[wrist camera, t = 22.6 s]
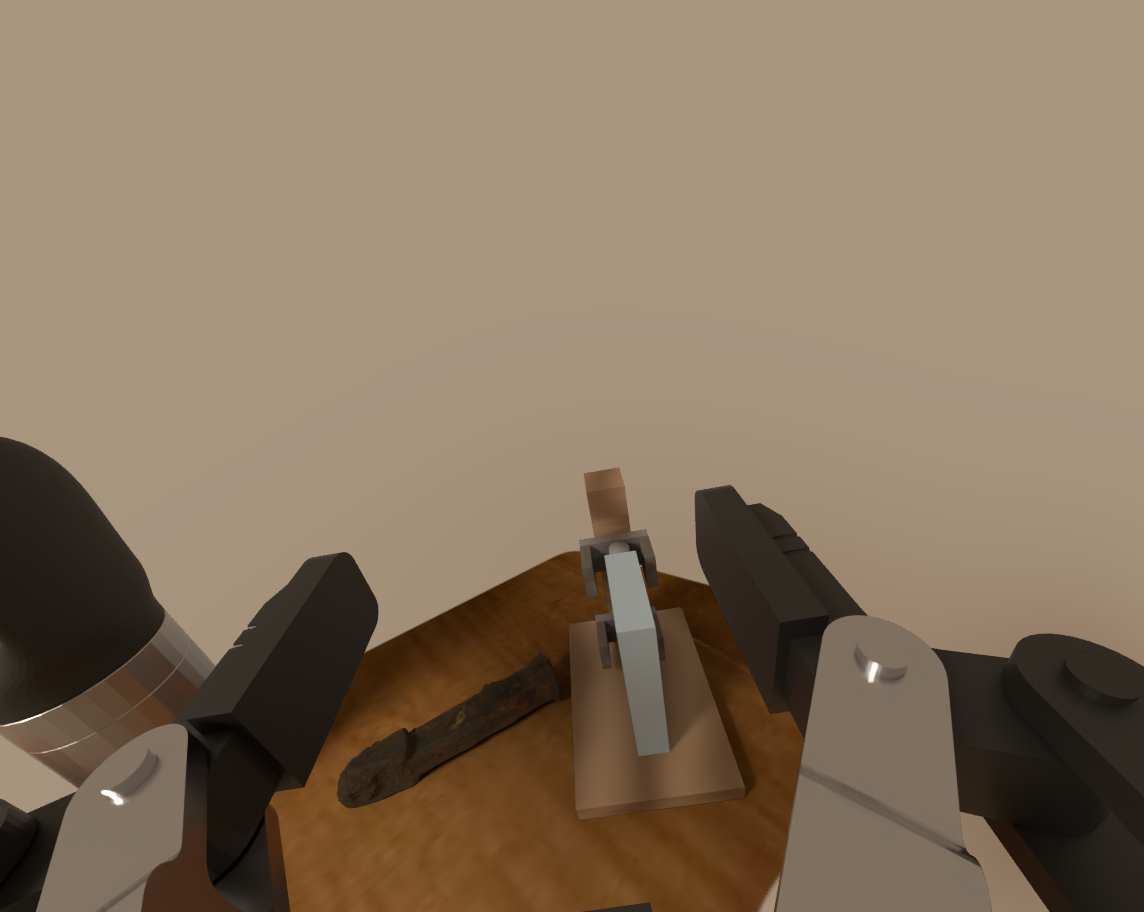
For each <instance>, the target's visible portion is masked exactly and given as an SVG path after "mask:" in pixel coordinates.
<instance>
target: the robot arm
mask: <svg viewBox="0 0 1144 912" xmlns="http://www.w3.org/2000/svg"><path fill="white" fill-rule="evenodd" d="M695 522H696V546H697V553H698V557H699V561H700V564H701V567H702V570H703V572H704V574H705V576H706V579H707V581H708V583H709V585H710V587H711V589H712V591H713V593H714V596H715V598H716V600H717V602H718V604H719V606H720V608H721V610H722V613H723V615H724V617H725V619H726V621H727V623H728V625H729V627H730V630H731V632H732V634H733V636H734V638H735V640H736V642H737V644H738V647H739V649H740V651H741V653H742V655H743V657H744V659H745V662H746V664H747V666H748V668H749V670H750V672H751V674H752V676H753V679H754V681H755V683H756V685H757V687H758V689H759V691H760V693H761V696H762V698H763V700H764V702H765V704H766V706H767V708H768V710H769V713H770V714H774V713H780V712H787V711H790V712H791V714H792V716H793V718H794V720H795V722H796V724H797V726H798V728H799V730H800V732H801V733H802V735H803V737H804V742H803V747H802V753H801V759H800V765H799V770H798V776H797V782H796V788H795V794H794V799H793V805H792V811H791V817H790V823H789V828H788V834H787V840H786V846H785V851H784V857H783V863H782V869H781V874H780V880H779V886H778V891H777V898H776V903H775V909H774V912H992V909H991V902H990V896H989V891H988V887H987V883H986V879H985V876H984V873H983V870H982V868H981V866H980V864H979V862H978V860H977V859H976V858H975V857H974V856H972V855H970V854H969V853H968V852H967V850H966V848H965V845H964V841H963V837H962V831H961V821H960V812H964V813H969V814H973V815H977V816H982V817H984V819H985V820H986V822H987V823H988V825H989V826H990V827H991V829H992V830H993V832H994V833H995V835H996V836H997V837H998V839H999V840H1000V842H1001V843H1002V844H1003V846H1004V847H1005V849H1006V850H1007V852H1008V853H1009V854H1010V856H1011V857H1012V859H1013V860H1014V862H1015V863H1016V865H1017V866H1018V867H1019V869H1020V870H1021V872H1022V873H1023V874H1024V876H1025V877H1026V879H1027V880H1028V882H1029V883H1030V884H1031V886H1032V887H1033V889H1034V890H1035V892H1036V893H1037V894H1038V896H1039V897H1040V899H1041V900H1042V902H1043V903H1044V904H1045V906H1046V907H1047V909H1048V910H1049V912H1144V667H1143V666H1142V665H1140V664H1138V663H1137V662H1135V661H1133V660H1132V659H1129V658H1128V657H1125V656H1123V655H1122V654H1120V653H1118V652H1115V651H1113V650H1111V649H1108V648H1106V647H1104V646H1101V645H1098V644H1095V643H1092V642H1090V641H1086V640H1083V639H1079V638H1075V637H1071V636H1065V635H1059V634H1036V635H1030V636H1028V637H1025V638H1023V639H1022V640H1020V641H1019V642H1018V643H1017V645H1016V647H1015V649H1014V650H1013V652H1012V654H1011V656H1010V658H1003V657H995V656H987V655H978V654H971V653H963V652H954V651H947V650H939V649H934V648H930V647H929V646H928V645H927V644H926V643H924V641H923V640H921V639H920V638H919V637H917V636H916V635H914V634H913V633H911V632H910V631H908V630H906V629H905V628H903V627H901V626H898V625H896V624H894V623H892V622H889V621H886V620H883V619H880V618H875V617H870V616H867V614H866V613H865V612H864V611H863V610H862V609H861V608H860V607H859V606H858V604H857V603H856V602H855V601H854V600H853V599H852V598H851V596H850V595H849V594H848V593H847V592H846V590H845V589H844V588H843V587H842V586H841V585H840V584H839V582H838V581H837V580H836V579H835V577H834V576H833V575H832V574H831V573H830V572H829V571H828V569H827V568H826V567H825V566H824V565H823V563H822V562H821V561H820V560H819V559H818V558H817V556H816V555H815V554H814V553H813V552H810V550H809V547H808V546H807V545H806V544H805V542H804V541H803V540H802V539H801V538H800V537H798V536H797V533H796V532H795V531H794V529H793V528H792V527H791V526H790V525H789V524H788V522H787V521H786V520H785V519H784V518H783V517H782V516H781V515H779V514H778V513H776V512H774V511H773V510H771V509H769V508H768V507H766V506H764V505H762V504H761V503H759V504H753V505H746V503H745V502H744V500H743V499H742V498H741V497H740V495H739V494H738V493H737V491H736V490H735V489H734V487H732V486H731V485H727V486H722V487H715V488H710V489H704V490H699V491H696V493H695ZM377 621H378V604H377V600H376V598H375V596H374V594H373V592H372V591H371V589H370V587H369V585H368V583H367V582H366V580H365V578H364V576H363V574H362V573H361V571H360V569H359V567H358V565H357V564H356V562H355V560H354V559H353V557H352V556H351V555H350V554H348V553H346V552H342V553H336V554H331V555H324V556H318V557H312V558H310V559H308V560H306V561H305V562H304V564H303V565H302V566H301V568H300V569H299V570H298V572H297V573H296V574H295V576H294V577H293V578H292V580H291V581H290V582H289V583H288V585H286V586H285V587H284V588H283V589H282V590H281V591H279V592H278V593H277V594H276V595H275V596H273V598H271V599H270V600H269V601H268V602H266V603H265V604H264V605H263V607H262V608H261V609H260V611H259V612H258V613H257V614H256V616H255V617H254V618H253V619H252V621H251V622H250V623H249V625H248V629H247V630H244V631H243V632H242V634H241V635H240V636H239V637H238V639H237V640H236V641H235V643H234V644H233V645H234V647H233V648H232V649H229V651H228V652H227V653H226V654H225V655H224V657H223V658H222V659H221V661H220V662H219V663H218V664H217V666H215V665H214V664H213V662H212V661H210V659H209V658H208V657H207V656H206V655H205V653H204V652H203V651H202V650H201V649H200V648H199V647H198V646H197V645H196V643H195V642H194V641H193V640H192V639H191V638H190V637H189V636H188V635H187V634H186V633H185V631H183V629H182V628H181V627H180V626H179V625H178V624H177V623H176V621H175V620H174V619H173V618H172V617H171V616H170V615H169V614H168V612H166V610H165V609H164V608H163V607H162V606H161V605H160V604H159V602H158V601H157V600H156V599H155V597H154V596H153V593H152V590H151V587H150V584H149V580H148V578H147V575H146V573H145V571H144V568H143V566H142V565H141V563H140V562H139V560H138V559H137V558H136V557H135V555H134V554H133V553H132V551H131V550H130V549H129V547H128V546H127V545H126V544H125V542H124V541H123V540H122V538H121V537H120V535H119V534H118V533H117V531H116V530H115V529H114V527H113V526H112V525H111V523H110V522H109V520H108V519H107V518H106V516H105V515H104V514H103V512H102V511H101V510H100V508H99V507H98V506H97V504H96V503H95V501H94V500H93V499H92V498H91V496H90V495H89V494H88V493H87V491H86V490H85V489H84V488H83V486H82V485H81V484H80V483H79V482H78V481H77V480H76V479H75V478H74V477H73V476H72V475H71V474H70V473H69V472H68V471H67V470H66V469H65V468H63V467H62V466H61V465H60V464H59V463H58V462H56V461H55V460H54V459H52V458H50V457H49V456H47V455H46V454H44V453H43V452H41V451H39V450H37V449H35V448H33V447H31V446H29V445H27V444H24V443H21V442H18V441H15V440H12V439H8V438H4V437H0V736H2V737H3V738H5V739H6V740H8V741H9V742H10V743H12V744H14V745H15V746H16V747H18V748H19V749H21V750H23V751H24V752H26V753H27V754H29V755H30V756H32V757H33V758H34V759H36V760H37V761H39V762H40V763H42V764H43V765H44V766H46V767H48V768H49V769H50V770H52V771H53V772H55V773H56V774H58V775H59V776H60V777H62V778H63V779H65V780H66V781H68V782H69V783H71V784H72V785H74V786H75V787H77V788H78V790H77V792H74V793H72V794H70V795H68V796H65V797H63V798H61V799H59V800H56V801H54V802H52V803H50V804H47V805H45V806H43V807H40V808H38V809H36V810H34V811H32V812H29V813H25V812H24V811H22V810H20V809H19V808H17V807H15V806H13V805H12V804H10V803H8V802H6V801H5V800H3V799H0V912H290V907H289V899H288V891H287V883H286V875H285V867H284V860H283V852H282V844H281V836H280V828H279V820H278V815H277V812H276V810H275V809H274V808H273V807H272V806H271V805H270V804H269V802H270V800H271V798H272V796H273V794H274V792H277V791H284V790H290V789H297V788H303V787H305V784H306V782H307V780H308V778H309V775H310V773H311V771H312V769H313V766H314V764H315V762H316V760H317V757H318V755H319V753H320V751H321V748H322V746H323V744H324V742H325V739H326V737H327V735H328V733H329V730H330V728H331V726H332V724H333V722H334V719H335V717H336V715H337V713H338V710H339V708H340V706H341V704H342V701H343V699H344V697H345V695H346V692H347V690H348V688H349V686H350V683H351V681H352V679H353V677H354V674H355V672H356V670H357V668H358V665H359V663H360V661H361V659H362V656H363V654H364V652H365V650H366V647H367V645H368V643H369V641H370V638H371V636H372V634H373V632H374V630H375V627H376V624H377ZM585 912H652V909H651V905H650V903H642V904H635V905H628V906H621V907H614V908H606V909H599V910H592V911H585Z"/></svg>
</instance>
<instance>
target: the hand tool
mask: <svg viewBox="0 0 1144 912" xmlns="http://www.w3.org/2000/svg"><path fill="white" fill-rule="evenodd" d="M551 700H556V701H559V702H560V701H562V695H561V690H560V687H559V683H558V679H557V677H556V674H555V672H554V670H553V668H552V666H551V664H550V661H549V659H548V658H547V657H545V656H544V655H543V654H542V653H539V654H538V655H537V656H536V657H535V658H534V659H533V660H532V661H531V663H529V664H528V665H527V666H526V667H525V668H523V669H521V670H519V671H517V672H515V673H514V674H512V675H511V676H509V677H507V678H505V679H503V680H501V681H497V682H492V683H491V684H489V685H488V684H486V685H485V686H484V687H483V689H482V690H481V692H480V693H478V694H476V695H474V696H472V697H471V698H469V699H467V700H466V701H464V702H462V703H460V704H459V705H457V706H455V707H453V708H451V709H450V710H448V711H446V712H444V713H442V714H441V715H439V716H437V717H436V718H434V719H432V720H430V721H429V722H427V723H425V724H424V725H422V726H420V727H418V728H414V729H413V730H412V731H410V732H408V731H407V730H406V729H405V728H402V729H400V730H398V731H396V732H394V733H392V734H391V735H389V736H388V737H387V738H385V739H383V740H382V741H377V742H375V743H374V744H373V745H372V746H371V747H367V748H366V749H365V750H363V751H362V752H361V753H360V754H359V755H358V756H357V757H354V758H352V760H351V761H350V762H349V763H348V764H347V766H346V768H345V769H344V770H343V772H342V773H341V774H340V778H339V781H338V792H337V796H338V798H339V801H340V802H341V803H342V804H343V805H344V806H346V807H347V808H350V809H351V808H357V807H360V806H364V805H367V804H370V803H373V802H376V801H380V800H382V799H384V798H387V797H388V796H390V795H392V794H394V793H397V792H400V791H402V790H405V789H407V788H410V787H412V786H414V785H416V784H417V783H418V782H419V781H420V778H421V775H422V774H424V773H425V772H427V771H428V770H430V769H431V768H433V767H435V766H436V765H438V764H440V763H442V762H444V761H446V760H448V759H449V758H451V757H453V756H455V755H457V754H458V753H461V752H463V751H465V750H467V749H469V748H471V747H472V746H473V745H475V744H476V743H477V742H479V741H480V740H482V739H484V738H486V737H488V736H489V735H491V734H493V733H495V732H496V731H498V730H501V729H503V728H505V727H506V726H507V725H509V724H512V723H514V722H516V721H517V720H518V719H519V718H520V717H522V716H524V715H526V714H528V713H529V712H531V711H532V710H534V709H535V708H537V707H539V706H540V705H542V704H544V703H546V702H548V701H551Z"/></svg>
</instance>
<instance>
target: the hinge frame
mask: <svg viewBox="0 0 1144 912" xmlns="http://www.w3.org/2000/svg"><path fill="white" fill-rule="evenodd" d="M584 478H585V486H586V492H587V498H588V503H589V509H590V515H591V519H592V525H593V531H594V536H595V538H590V539H584V540H579V542H580V553H581V565H582V572H583V577H584V581H585V586H586V591H587V595H588V597H592V596H598V593H597V585H596V577H595V572H600V571H601V574H602V579H603V585H604V590H605V596H606V601H607V606H608V612H609V613H606V614H600V615H595V620H593V621H587V622H580V623H574V624H569V649H570V675H571V701H572V727H573V753H574V779H575V805H576V812H577V815H578V818H579V820H582V819H590V818H597V817H605V816H612V815H620V814H627V813H635V812H642V811H650V810H658V809H665V808H673V807H680V806H688V805H695V804H703V803H710V802H718V801H725V800H733V799H741V798H745V785H744V783H743V780H742V777H741V774H740V771H739V768H738V766H737V763H736V760H735V757H734V754H733V751H732V749H731V746H730V743H729V740H728V737H727V734H726V732H725V729H724V726H723V723H722V720H721V717H720V715H719V712H718V709H717V706H716V703H715V701H714V698H713V695H712V692H711V689H710V686H709V684H708V681H707V678H706V675H705V672H704V669H703V667H702V664H701V661H700V658H699V655H698V652H697V650H696V647H695V644H694V641H693V638H692V635H691V633H690V630H689V627H688V624H687V621H686V619H685V616H684V613H683V610H682V607H678V608H671V609H665V610H658V611H656V609H655V606H652V607H650V608H651V611H652V615H653V619H654V623H655V627H656V635H657V644H658V653H659V662H660V671H661V679H662V688H663V697H664V706H665V715H666V724H667V733H668V742H669V750H670V752H667V753H659V754H652V755H644V756H638V751H637V745H636V740H635V734H634V728H633V723H632V717H631V712H630V706H629V701H628V695H627V689H626V684H625V678H624V673H623V667H622V661H621V656H620V650H619V645H618V639H617V633H616V627H615V621H614V614H613V608H612V601H611V595H610V588H609V582H608V576H607V569H606V563H605V556H604V555H610V554H609V546H610V545H611V544H612V543H614V542H617V541H622V542H625V543H627V544H628V545H629V550H630V551H636V554H637V558H638V562H639V565H642V568H643V571H644V575H645V578H646V582H647V586H648V588H650V587H656V586H658V580H657V570H656V560H655V555H654V552H653V549H652V546H651V543H650V540H649V537H648V534H647V531H646V529H645V530H639V531H633V532H630V524H629V517H628V509H627V502H626V494H625V486H624V483H623V480H622V476H621V473H620V469H619V468H614V469H608V470H602V471H596V472H590V473H584Z"/></svg>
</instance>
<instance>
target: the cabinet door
mask: <svg viewBox="0 0 1144 912" xmlns="http://www.w3.org/2000/svg"><path fill="white" fill-rule="evenodd" d="M609 554H610V555H604V556H605V563H606V569H607V576H608V582H609V588H610V595H611V601H612V608H613V614H614V621H615V627H616V633H617V639H618V645H619V650H620V656H621V661H622V667H623V673H624V678H625V684H626V689H627V695H628V701H629V706H630V712H631V717H632V723H633V728H634V734H635V740H636V745H637V751H638V756H644V755H652V754H659V753H667V752H670V750H669V742H668V733H667V724H666V715H665V706H664V697H663V688H662V679H661V671H660V662H659V653H658V644H657V635H656V627H655V623H654V619H653V615H652V611H651V608H650V604H649V600H648V596H647V592H646V588H645V585H644V581H643V577H642V573H641V569H640V565H639V562H638V558H637V554H636V551H630V550H629V545H628V544H627V543H625V542H622V541H617V542H614V543H612V544H611V545H610V546H609Z"/></svg>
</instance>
